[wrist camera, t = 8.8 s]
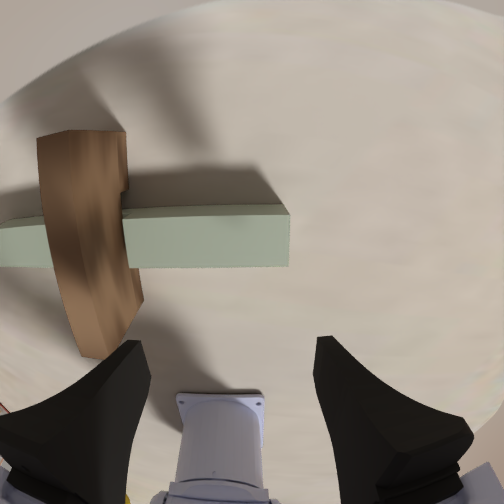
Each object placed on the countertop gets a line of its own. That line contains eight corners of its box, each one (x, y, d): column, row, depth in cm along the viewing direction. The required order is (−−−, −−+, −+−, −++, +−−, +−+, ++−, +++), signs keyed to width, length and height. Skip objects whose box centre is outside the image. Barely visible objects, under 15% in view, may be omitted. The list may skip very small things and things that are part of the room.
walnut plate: (143, 300, 21) (110, 360, 14) (120, 299, 21) (81, 356, 14) (125, 132, 17) (68, 130, 10) (99, 136, 17) (36, 138, 10)
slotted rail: (282, 248, 20) (288, 266, 17) (17, 253, 19) (-4, 266, 16) (283, 204, 19) (290, 215, 16) (10, 219, 18) (-12, 230, 15)
